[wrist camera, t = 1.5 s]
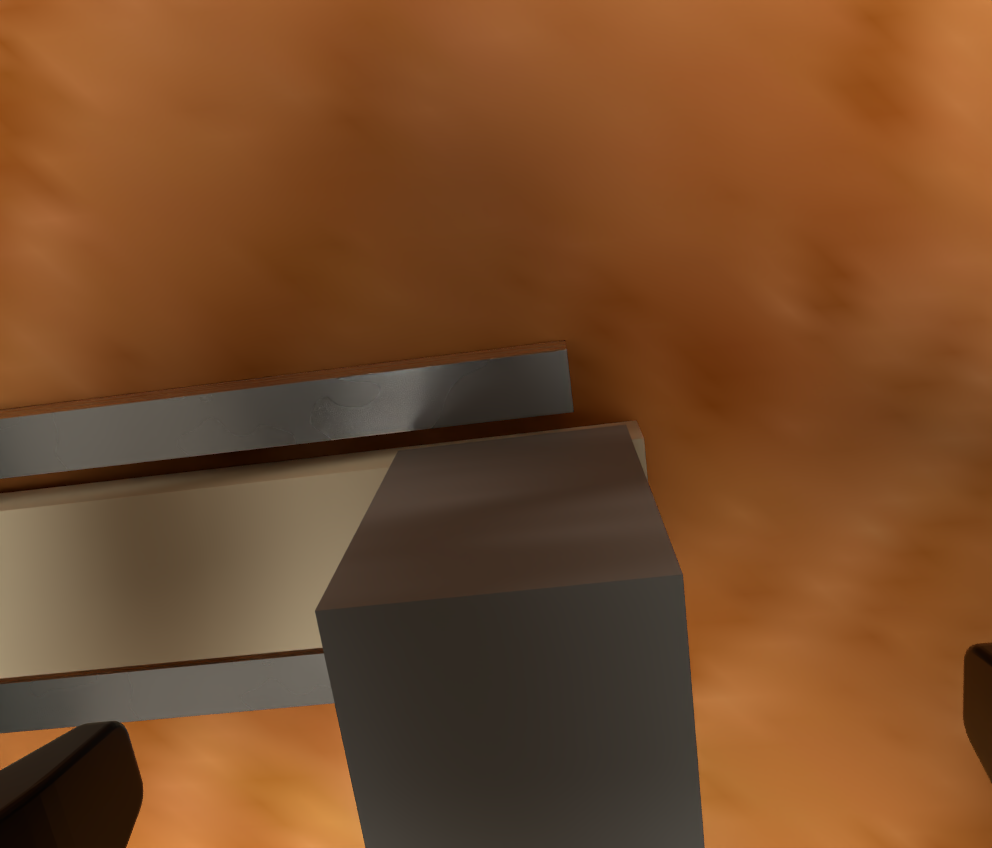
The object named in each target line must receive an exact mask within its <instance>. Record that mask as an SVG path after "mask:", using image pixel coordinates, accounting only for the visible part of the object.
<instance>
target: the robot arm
mask: <svg viewBox="0 0 992 848" xmlns="http://www.w3.org/2000/svg"><path fill="white" fill-rule="evenodd" d="M963 720H964V726H965V729H966V733H967V736H968V738H969V740H970V743H971V745H972V746H973V748H974V750H975V752H976V754H977V756H978V758H979V760H980V762H981V764H982V766H983V768H984V770H985V772H986V773H987V775H988V777H989V779H990V781H991V783H992V643H983V644H975V645H972V646H970V647H969V648H968V649H967V651H966V654H965V657H964V686H963ZM142 799H143V783H142V778H141V775H140V771H139V768H138V765H137V761H136V758H135V755H134V751H133V748H132V744H131V741H130V738H129V734H128V732H127V729H126V728H125V726H124V725H123V724H122V723H120V722H118V721H105V722H94V723H86V724H82V725H80V726H78V727H76V728H74V729H72V730H71V731H69V732H67V733H65V734H64V735H62V736H60V737H58V738H56V739H55V740H53V741H51V742H49V743H48V744H46V745H44V746H42V747H41V748H39V749H37V750H35V751H34V752H32V753H30V754H28V755H27V756H25V757H23V758H21V759H20V760H18V761H16V762H14V763H12V764H11V765H9V766H7V767H5V768H4V769H2V770H0V848H126V847H127V844H128V841H129V838H130V836H131V833H132V830H133V827H134V825H135V822H136V819H137V816H138V814H139V811H140V808H141V804H142Z"/></svg>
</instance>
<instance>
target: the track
mask: <svg viewBox="0 0 992 848" xmlns="http://www.w3.org/2000/svg"><path fill="white" fill-rule="evenodd" d="M569 412H574V410H573V401H572V392H571V383H570V374H569V365H568V356H567V348H566V343H565V340H562V341H554V342H546V343H538V344H530V345H522V346H514V347H506V348H498V349H490V350H482V351H473V352H465V353H457V354H449V355H441V356H433V357H425V358H417V359H409V360H401V361H393V362H385V363H376V364H368V365H360V366H352V367H344V368H336V369H328V370H320V371H312V372H304V373H296V374H288V375H279V376H271V377H263V378H255V379H247V380H239V381H231V382H223V383H215V384H207V385H199V386H191V387H182V388H174V389H166V390H158V391H150V392H142V393H134V394H126V395H118V396H110V397H102V398H94V399H85V400H77V401H69V402H61V403H53V404H45V405H37V406H29V407H21V408H13V409H5V410H0V479H3V478H12V477H20V476H29V475H37V474H46V473H55V472H63V471H72V470H80V469H89V468H97V467H106V466H115V465H123V464H132V463H140V462H149V461H157V460H166V459H175V458H183V457H192V456H200V455H209V454H218V453H226V452H235V451H243V450H252V449H260V448H269V447H278V446H286V445H295V444H303V443H312V442H321V441H329V440H338V439H346V438H355V437H363V436H372V435H381V434H389V433H398V432H406V431H415V430H423V429H432V428H441V427H449V426H458V425H466V424H475V423H484V422H492V421H501V420H509V419H518V418H526V417H535V416H544V415H552V414H561V413H569ZM331 703H334V698H333V694H332V689H331V684H330V680H329V675H328V670H327V666H326V661H325V656H324V652H323V648H313V649H303V650H293V651H282V652H272V653H261V654H251V655H240V656H230V657H220V658H209V659H199V660H188V661H178V662H167V663H157V664H146V665H136V666H126V667H115V668H105V669H94V670H84V671H73V672H63V673H53V674H42V675H32V676H21V677H11V678H0V733H9V732H20V731H31V730H42V729H53V728H64V727H75V726H80V725H82V724H86V723H94V722H105V721H118V722H131V721H142V720H153V719H164V718H175V717H186V716H197V715H209V714H220V713H231V712H242V711H253V710H264V709H275V708H286V707H297V706H308V705H320V704H331Z"/></svg>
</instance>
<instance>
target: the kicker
mask: <svg viewBox="0 0 992 848" xmlns="http://www.w3.org/2000/svg"><path fill="white" fill-rule="evenodd" d="M313 648H323V652H324V656H325V661H326V666H327V670H328V675H329V680H330V684H331V689H332V694H333V698H334V703H335V708H336V712H337V717H338V722H339V726H340V731H341V736H342V740H343V745H344V750H345V754H346V759H347V764H348V768H349V773H350V778H351V782H352V787H353V791H354V796H355V801H356V805H357V810H358V815H359V819H360V824H361V829H362V833H363V838H364V843H365V847H366V848H705V847H704V834H703V821H702V809H701V796H700V784H699V771H698V759H697V746H696V733H695V721H694V708H693V696H692V683H691V671H690V658H689V645H688V633H687V620H686V608H685V595H684V583H683V573H682V571H681V568H680V566H679V563H678V560H677V558H676V555H675V552H674V550H673V547H672V544H671V542H670V539H669V537H668V534H667V531H666V529H665V526H664V523H663V521H662V518H661V515H660V513H659V510H658V508H657V505H656V502H655V500H654V497H653V494H652V492H651V489H650V486H649V484H648V477H647V465H646V454H645V443H644V437H643V435H642V432H641V430H640V428H639V425H638V423H637V421H636V420H635V421H626V422H617V423H609V424H600V425H591V426H582V427H574V428H565V429H556V430H548V431H539V432H530V433H522V434H513V435H504V436H496V437H487V438H478V439H469V440H461V441H452V442H443V443H435V444H426V445H417V446H409V447H400V448H391V449H383V450H374V451H365V452H356V453H348V454H339V455H330V456H322V457H313V458H304V459H296V460H287V461H278V462H270V463H261V464H252V465H243V466H235V467H226V468H217V469H209V470H200V471H191V472H183V473H174V474H165V475H157V476H148V477H139V478H130V479H122V480H113V481H104V482H96V483H87V484H78V485H70V486H61V487H52V488H44V489H35V490H26V491H17V492H9V493H0V678H11V677H21V676H32V675H42V674H53V673H63V672H73V671H84V670H94V669H105V668H115V667H126V666H136V665H146V664H157V663H167V662H178V661H188V660H199V659H209V658H220V657H230V656H240V655H251V654H261V653H272V652H282V651H293V650H303V649H313Z"/></svg>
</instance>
